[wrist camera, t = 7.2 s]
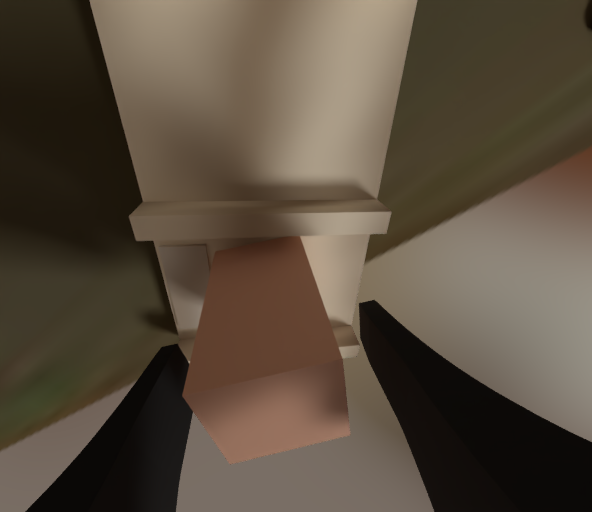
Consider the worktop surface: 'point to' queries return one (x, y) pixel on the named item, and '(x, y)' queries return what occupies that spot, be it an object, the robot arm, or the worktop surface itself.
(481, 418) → the robot arm
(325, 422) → the block
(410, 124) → the worktop surface
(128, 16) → the notched rack
